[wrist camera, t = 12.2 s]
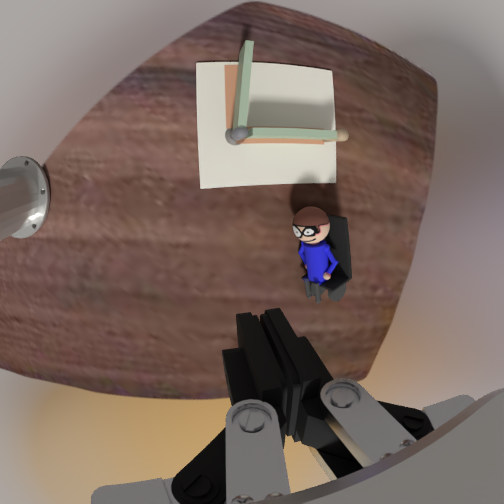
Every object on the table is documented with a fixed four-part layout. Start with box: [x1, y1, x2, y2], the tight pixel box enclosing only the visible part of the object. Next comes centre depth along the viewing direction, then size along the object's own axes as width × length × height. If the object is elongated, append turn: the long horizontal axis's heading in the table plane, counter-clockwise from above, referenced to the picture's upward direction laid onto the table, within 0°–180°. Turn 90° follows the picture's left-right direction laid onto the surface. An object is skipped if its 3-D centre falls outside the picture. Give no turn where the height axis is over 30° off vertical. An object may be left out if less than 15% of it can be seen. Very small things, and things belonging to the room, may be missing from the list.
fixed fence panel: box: [245, 128, 349, 142], centre depth 33 cm, size 13×2×5 cm, turn 92°
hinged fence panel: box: [230, 40, 254, 141], centre depth 30 cm, size 13×2×4 cm, turn 176°
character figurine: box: [293, 207, 352, 304], centre depth 39 cm, size 8×7×15 cm
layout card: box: [196, 62, 336, 189], centre depth 35 cm, size 20×18×1 cm
